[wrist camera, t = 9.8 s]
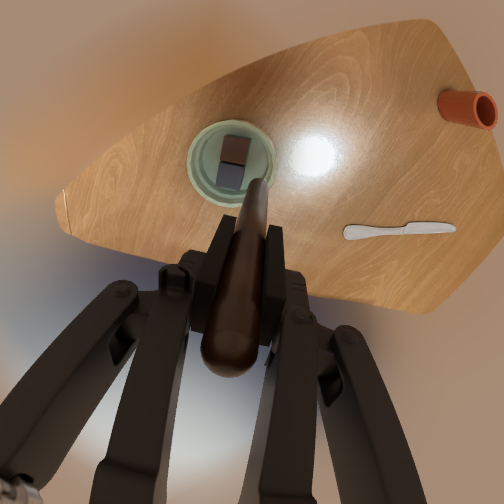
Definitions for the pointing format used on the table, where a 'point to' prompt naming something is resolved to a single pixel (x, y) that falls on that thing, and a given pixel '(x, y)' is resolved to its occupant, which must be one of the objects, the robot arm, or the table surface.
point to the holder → (468, 108)
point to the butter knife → (396, 230)
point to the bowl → (208, 157)
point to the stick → (239, 292)
